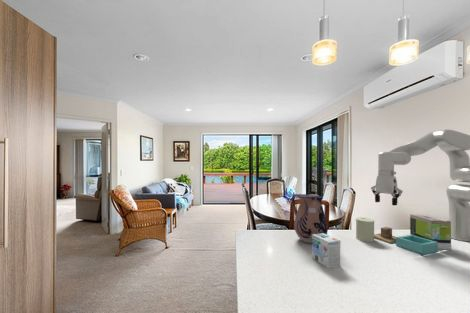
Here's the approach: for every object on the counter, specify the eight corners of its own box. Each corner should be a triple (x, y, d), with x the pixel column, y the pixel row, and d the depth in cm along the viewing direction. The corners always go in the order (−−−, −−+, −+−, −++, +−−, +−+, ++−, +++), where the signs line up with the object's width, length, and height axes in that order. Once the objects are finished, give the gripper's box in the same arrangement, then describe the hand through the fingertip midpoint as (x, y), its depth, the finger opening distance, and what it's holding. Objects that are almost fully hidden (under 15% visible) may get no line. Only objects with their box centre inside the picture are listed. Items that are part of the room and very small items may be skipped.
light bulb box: (311, 257, 101) (311, 233, 102) (323, 256, 104) (323, 232, 104) (328, 268, 91) (328, 241, 92) (341, 266, 93) (341, 240, 94)
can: (370, 237, 130) (370, 217, 130) (377, 243, 121) (377, 221, 121) (353, 236, 131) (353, 216, 132) (359, 242, 122) (359, 220, 122)
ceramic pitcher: (320, 249, 111) (320, 199, 112) (282, 239, 125) (283, 194, 126) (332, 240, 124) (332, 195, 125) (296, 232, 138) (296, 191, 139)
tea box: (452, 250, 113) (451, 220, 113) (432, 249, 113) (431, 220, 113) (427, 240, 128) (427, 213, 128) (409, 239, 128) (409, 213, 128)
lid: (383, 234, 134) (383, 224, 134) (403, 240, 124) (403, 230, 124) (369, 236, 130) (369, 226, 130) (389, 243, 119) (389, 232, 119)
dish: (410, 244, 121) (410, 234, 121) (437, 252, 109) (437, 242, 110) (396, 246, 116) (395, 237, 116) (422, 255, 105) (422, 245, 105)
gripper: (406, 174, 121) (406, 206, 121) (376, 172, 137) (375, 200, 137) (397, 174, 118) (397, 206, 118) (367, 172, 134) (367, 201, 134)
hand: (385, 203), depth 127 cm, fingers open, 9 cm apart
